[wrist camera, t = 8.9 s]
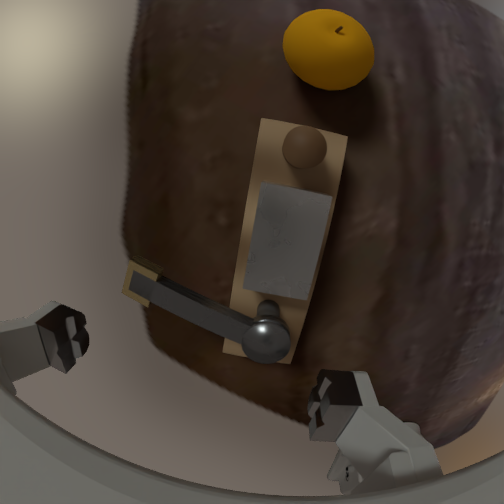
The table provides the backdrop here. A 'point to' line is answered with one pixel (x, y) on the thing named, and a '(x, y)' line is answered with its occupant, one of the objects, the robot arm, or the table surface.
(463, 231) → the table surface
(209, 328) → the lever
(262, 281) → the lever cap
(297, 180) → the plane body
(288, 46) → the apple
